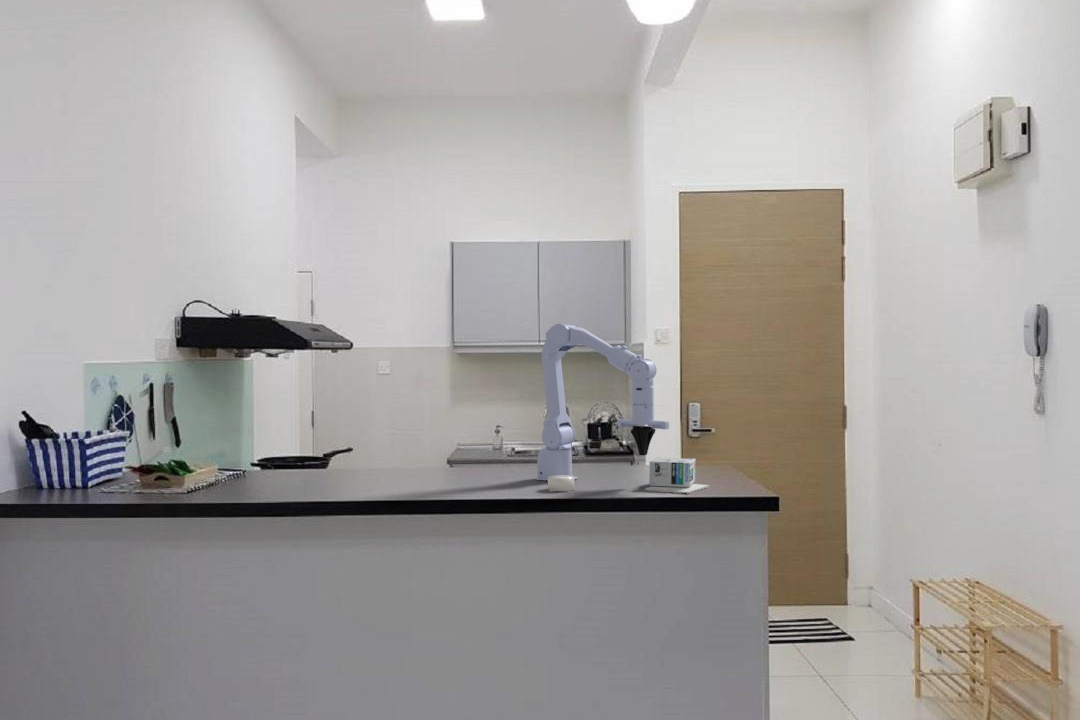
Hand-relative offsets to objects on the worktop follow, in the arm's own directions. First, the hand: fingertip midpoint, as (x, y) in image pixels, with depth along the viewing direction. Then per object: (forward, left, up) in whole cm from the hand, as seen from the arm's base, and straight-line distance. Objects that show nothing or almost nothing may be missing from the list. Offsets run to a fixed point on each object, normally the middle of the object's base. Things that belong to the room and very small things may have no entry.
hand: (643, 454), depth 237 cm
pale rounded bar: (-15, -17, -8) cm, 24 cm away
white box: (+10, 0, -8) cm, 13 cm away
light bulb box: (+2, +1, -4) cm, 5 cm away
